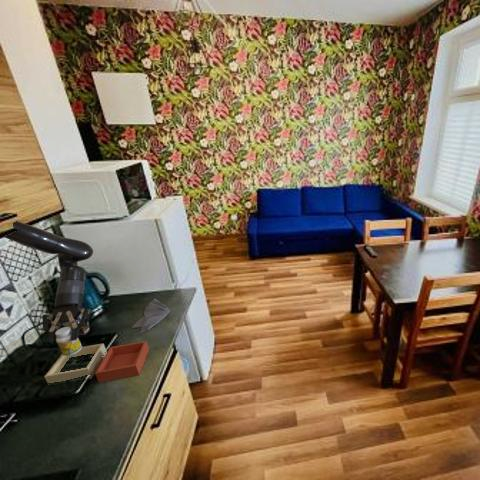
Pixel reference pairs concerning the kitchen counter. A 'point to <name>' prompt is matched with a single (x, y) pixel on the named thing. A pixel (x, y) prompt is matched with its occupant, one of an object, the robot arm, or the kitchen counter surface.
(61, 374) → the cream bin
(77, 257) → the robot arm
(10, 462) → the kitchen counter surface
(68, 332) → the supplement bottle
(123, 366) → the terracotta bin
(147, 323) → the cloth
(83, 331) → the food container
